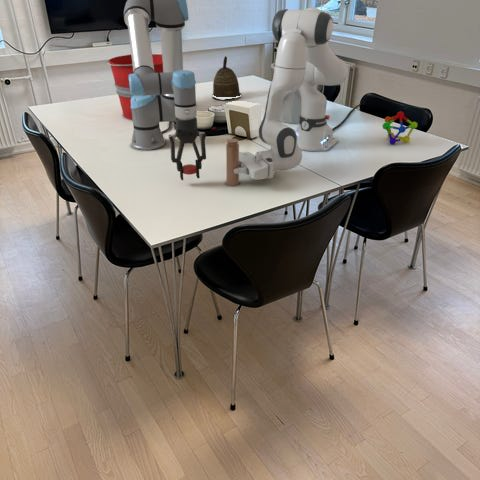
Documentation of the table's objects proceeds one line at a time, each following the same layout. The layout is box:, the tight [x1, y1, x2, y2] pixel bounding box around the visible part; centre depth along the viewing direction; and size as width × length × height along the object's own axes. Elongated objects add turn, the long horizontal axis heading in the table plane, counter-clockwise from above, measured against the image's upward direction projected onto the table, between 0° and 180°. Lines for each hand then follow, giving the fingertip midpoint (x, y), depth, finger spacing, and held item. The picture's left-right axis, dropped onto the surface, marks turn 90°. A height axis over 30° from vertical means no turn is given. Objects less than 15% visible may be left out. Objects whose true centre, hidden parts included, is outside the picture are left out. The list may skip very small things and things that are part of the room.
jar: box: [225, 138, 240, 187], centre depth 167 cm, size 5×5×17 cm
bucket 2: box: [270, 62, 325, 125], centre depth 235 cm, size 30×30×28 cm
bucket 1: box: [105, 53, 163, 121], centre depth 241 cm, size 35×35×30 cm
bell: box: [212, 56, 242, 97], centre depth 278 cm, size 19×26×20 cm
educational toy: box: [382, 110, 418, 145], centre depth 207 cm, size 16×13×15 cm
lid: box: [182, 163, 197, 176], centre depth 167 cm, size 6×6×2 cm
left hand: (189, 177), depth 169 cm, fingers closed on lid, 5 cm apart
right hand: (230, 168), depth 167 cm, fingers closed on jar, 5 cm apart
